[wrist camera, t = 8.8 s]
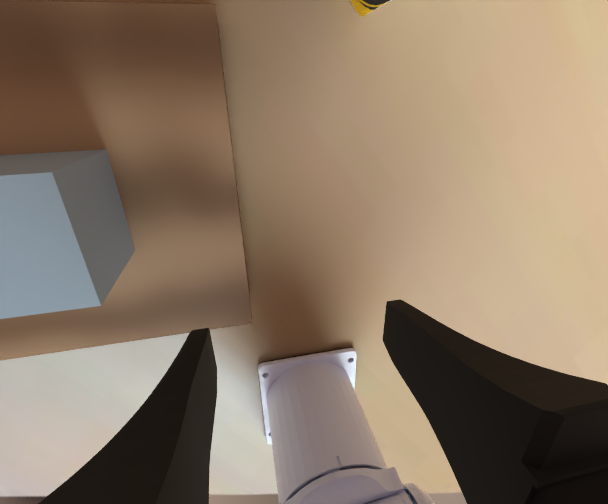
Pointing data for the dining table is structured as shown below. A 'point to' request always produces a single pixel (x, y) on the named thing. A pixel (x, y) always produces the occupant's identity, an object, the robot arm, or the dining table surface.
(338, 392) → the robot arm
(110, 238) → the slate block
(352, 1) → the medicine bottle
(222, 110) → the walnut plinth
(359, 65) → the dining table surface
